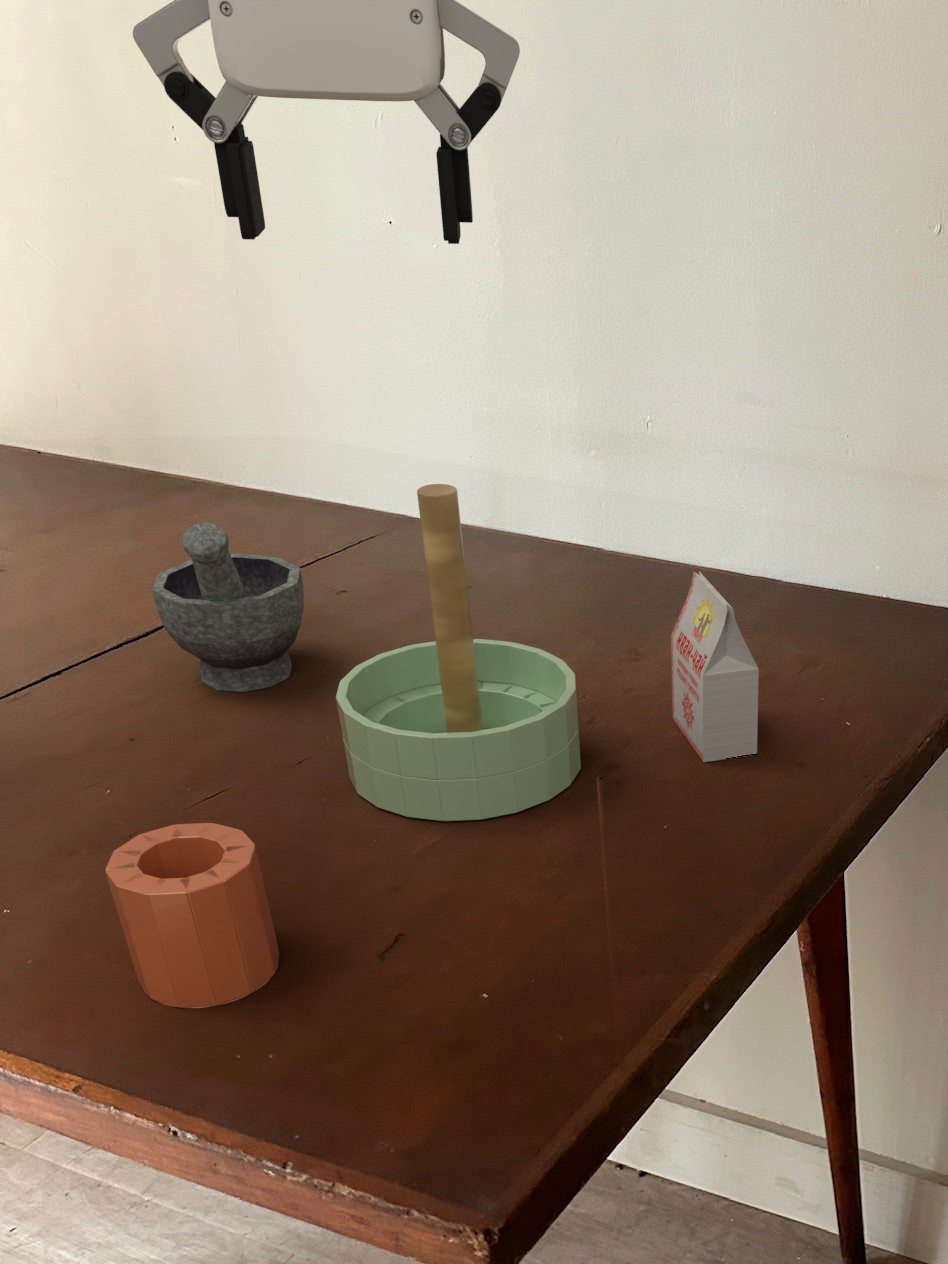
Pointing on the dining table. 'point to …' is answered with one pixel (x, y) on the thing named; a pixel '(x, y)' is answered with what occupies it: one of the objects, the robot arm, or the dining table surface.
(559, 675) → the bowl
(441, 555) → the stick
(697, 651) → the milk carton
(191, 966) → the utensil pot
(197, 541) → the mortar and pestle
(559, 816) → the dining table surface
